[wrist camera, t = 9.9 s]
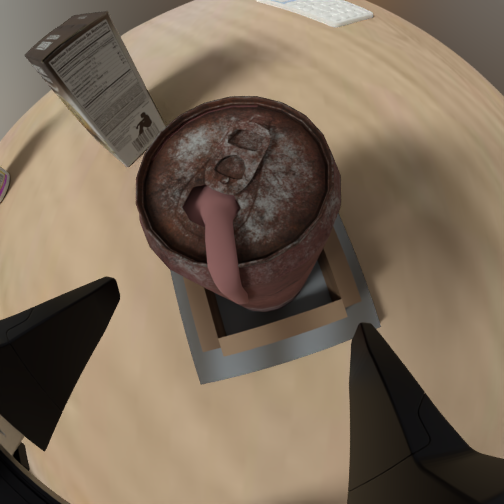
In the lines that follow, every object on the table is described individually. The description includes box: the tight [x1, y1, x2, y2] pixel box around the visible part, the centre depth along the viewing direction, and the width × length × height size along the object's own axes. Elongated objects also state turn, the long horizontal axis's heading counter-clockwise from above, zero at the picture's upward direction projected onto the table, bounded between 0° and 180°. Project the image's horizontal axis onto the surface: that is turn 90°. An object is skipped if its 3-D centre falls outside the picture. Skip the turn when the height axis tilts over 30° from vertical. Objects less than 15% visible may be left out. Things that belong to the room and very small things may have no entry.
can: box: [136, 96, 341, 312], centre depth 13 cm, size 6×6×14 cm
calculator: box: [256, 0, 373, 27], centre depth 34 cm, size 13×20×2 cm, turn 41°
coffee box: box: [25, 11, 166, 167], centre depth 19 cm, size 9×6×16 cm
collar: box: [170, 214, 381, 384], centre depth 19 cm, size 14×14×4 cm
